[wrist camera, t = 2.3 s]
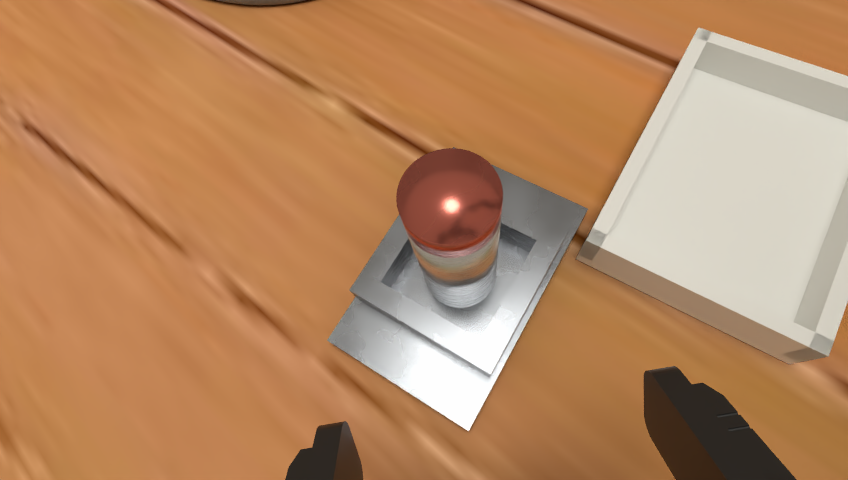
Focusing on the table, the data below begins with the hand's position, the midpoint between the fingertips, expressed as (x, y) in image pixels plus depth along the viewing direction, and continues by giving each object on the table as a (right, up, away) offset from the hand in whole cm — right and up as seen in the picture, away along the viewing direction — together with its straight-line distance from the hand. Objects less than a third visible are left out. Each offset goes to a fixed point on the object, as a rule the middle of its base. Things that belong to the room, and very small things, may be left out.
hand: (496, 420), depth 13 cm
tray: (+16, +8, +15) cm, 23 cm away
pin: (0, +3, +14) cm, 15 cm away
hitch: (0, +3, +15) cm, 15 cm away
